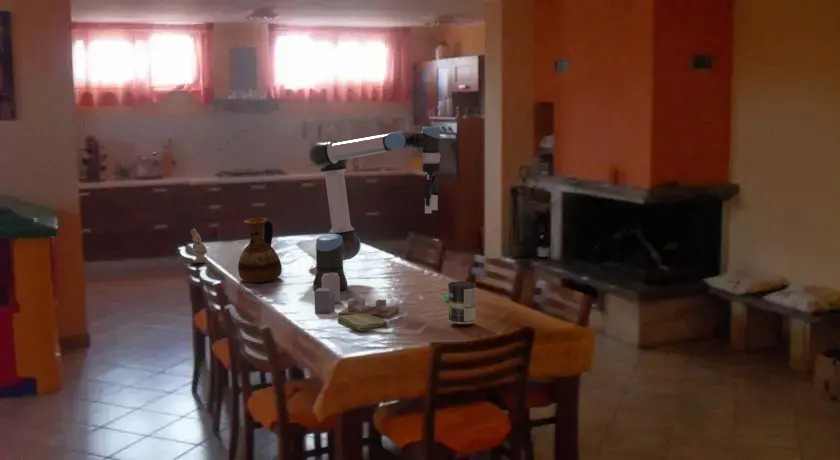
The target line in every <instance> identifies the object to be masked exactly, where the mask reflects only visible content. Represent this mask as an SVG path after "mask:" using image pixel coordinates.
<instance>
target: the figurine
mask: <svg viewBox="0 0 840 460" xmlns="http://www.w3.org/2000/svg"><path fill="white" fill-rule="evenodd" d="M190 234H191V236H192V241H193V244H192V252H193V254H194V256H195V259H194V260H193V263H197V264H198V263H199V264H204V263H208V258H207V257H206V256H205V255H206V254H208V250H207V246H205V244H204V243H203V242H202V238H201V236H200V234H199V233H198V231H197V230H196V228H192V229H190Z"/></svg>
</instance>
